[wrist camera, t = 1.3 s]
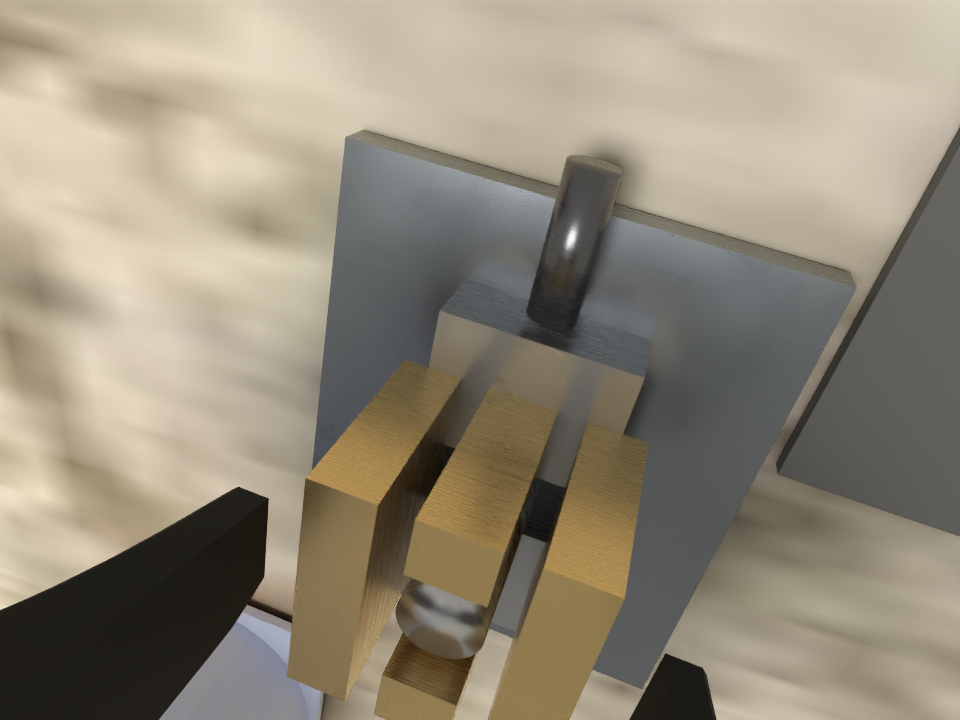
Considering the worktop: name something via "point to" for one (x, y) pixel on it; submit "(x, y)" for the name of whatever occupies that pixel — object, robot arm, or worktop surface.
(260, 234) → the worktop surface
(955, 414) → the mat
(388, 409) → the tan slotted block
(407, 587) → the vise
